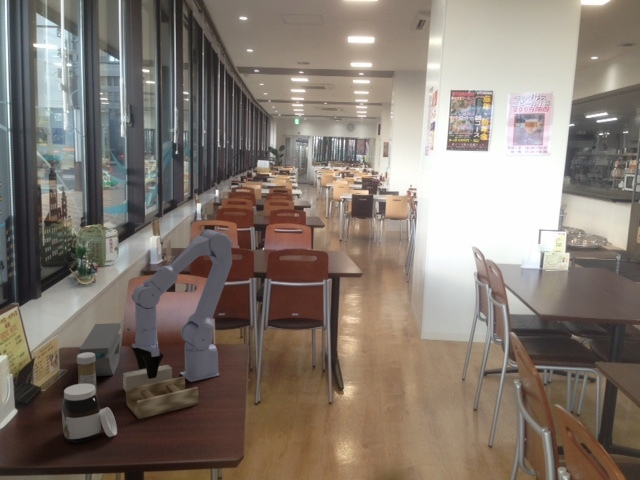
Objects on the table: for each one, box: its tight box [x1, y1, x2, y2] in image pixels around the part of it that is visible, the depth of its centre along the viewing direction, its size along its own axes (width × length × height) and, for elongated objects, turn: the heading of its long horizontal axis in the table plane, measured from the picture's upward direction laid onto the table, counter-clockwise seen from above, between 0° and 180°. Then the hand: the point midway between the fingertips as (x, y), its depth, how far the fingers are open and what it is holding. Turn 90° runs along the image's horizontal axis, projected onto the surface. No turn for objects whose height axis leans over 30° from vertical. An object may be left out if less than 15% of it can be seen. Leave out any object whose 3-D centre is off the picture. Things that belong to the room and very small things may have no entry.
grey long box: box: [78, 322, 122, 377], centre depth 180 cm, size 25×8×11 cm, turn 11°
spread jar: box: [61, 383, 118, 444], centre depth 138 cm, size 12×11×12 cm
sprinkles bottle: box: [76, 352, 97, 396], centre depth 156 cm, size 5×5×13 cm
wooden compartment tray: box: [125, 376, 199, 420], centre depth 156 cm, size 16×10×4 cm, turn 125°
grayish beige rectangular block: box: [122, 364, 173, 393], centre depth 167 cm, size 13×4×5 cm, turn 122°
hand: (147, 373), depth 167 cm, fingers open, 7 cm apart
